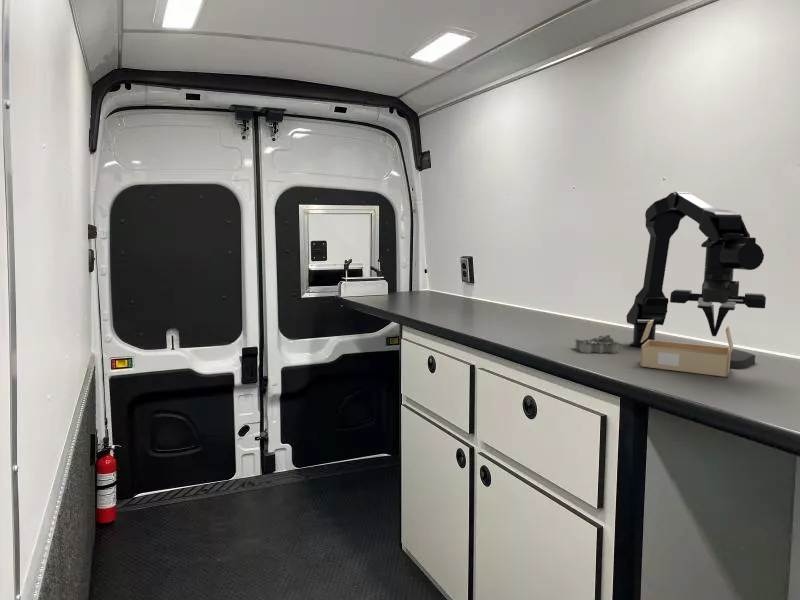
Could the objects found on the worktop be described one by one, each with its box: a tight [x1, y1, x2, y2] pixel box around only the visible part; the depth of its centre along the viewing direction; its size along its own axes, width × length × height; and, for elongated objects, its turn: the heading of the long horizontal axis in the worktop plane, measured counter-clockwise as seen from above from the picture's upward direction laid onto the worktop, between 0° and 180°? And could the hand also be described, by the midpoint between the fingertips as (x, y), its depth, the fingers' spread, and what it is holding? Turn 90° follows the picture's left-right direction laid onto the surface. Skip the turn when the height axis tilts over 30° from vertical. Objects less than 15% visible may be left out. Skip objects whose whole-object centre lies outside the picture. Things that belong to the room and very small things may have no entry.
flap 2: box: [725, 325, 734, 352], centre depth 129 cm, size 8×1×5 cm, turn 148°
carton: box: [639, 339, 731, 378], centre depth 134 cm, size 11×18×5 cm, turn 58°
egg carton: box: [573, 334, 621, 354], centre depth 154 cm, size 11×8×4 cm
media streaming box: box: [730, 348, 756, 370], centre depth 143 cm, size 15×15×3 cm
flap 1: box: [641, 319, 654, 342], centre depth 138 cm, size 8×1×5 cm, turn 148°
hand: (714, 336), depth 131 cm, fingers closed
